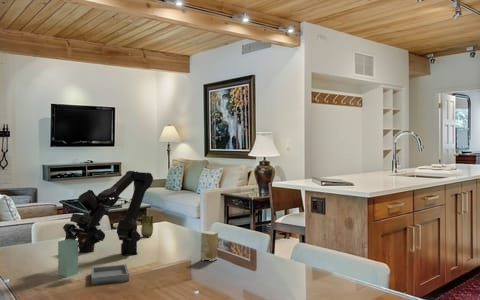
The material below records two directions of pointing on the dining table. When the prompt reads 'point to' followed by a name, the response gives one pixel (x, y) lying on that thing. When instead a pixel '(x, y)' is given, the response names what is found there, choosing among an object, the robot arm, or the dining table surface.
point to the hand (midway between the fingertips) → (71, 249)
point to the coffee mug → (80, 241)
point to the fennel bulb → (147, 226)
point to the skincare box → (209, 245)
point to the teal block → (67, 257)
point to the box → (109, 274)
